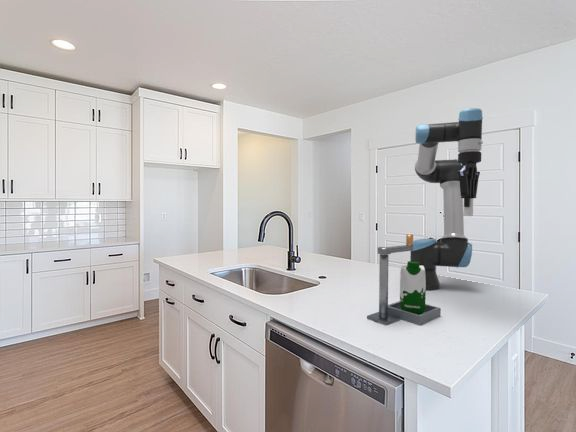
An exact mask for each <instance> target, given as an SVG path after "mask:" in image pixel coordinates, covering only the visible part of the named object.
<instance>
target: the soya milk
mask: <svg viewBox="0 0 576 432" xmlns="http://www.w3.org/2000/svg"><path fill="white" fill-rule="evenodd" d="M399 274H400V275H399V276H400V278H399V301H400V305H401V310H404V311H407V312H410V313H414V314H417V315H420V314H423V313H424V310H425V304H426V293H427V292H426V291H427V290H426V278H425V277H426V273H425V268H424V266H420V265H419V262H416V261H407V263H406V264H401V267H400V273H399Z"/></svg>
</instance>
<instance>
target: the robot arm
mask: <svg viewBox="0 0 576 432" xmlns="http://www.w3.org/2000/svg"><path fill="white" fill-rule="evenodd" d="M483 118H484V117H483V110H482V109H481V108H478V107H471V108H466V109H462V110H461V111H459V115H458V120H457V121H455V122H442V123H441V122H440V123H425V124H420V125H417V126H416V127H415V140H414V141H415V143H416V144H418V145H419V147H418V154H417V155H418V157H417V160H416V162H415V163H414V171H415V174H416V175H417V176H418V178H420V179H421V180H422V181H424V182H426V183H431V184H439V187H440V188H441V189H442V190H443V191H442V192H443V196H442V197H443V236H442V237H440V241H437V239H436V238H420V239H415V240H414V239H413V251H410V255H409V256H410V261H416V262H419V265H420V266H424V268H425V273H426V277H425V278H426V291H435V290H439V289H440V280H439V278H438V275H437V267H450V268H451V267H452V268H467V267H468V266H469V265H470V263H471V260H472V255H473V244H472V243H470V242H469V239H468V237H466V236H465V230H464V229H465V227H464V226H465V225H464V224H465V223H464V222H465V220H464V217H473V216H474V199H477V193H478V187H479V185H478V184H479V177H480V173H481V171H478V167H477V164H478V163H481V162H482V144H484V142H483V141H482V137H483V135H482V134H483ZM451 142H452V143H453V142H458V144H457V152H458V153H457V158H454V159H437V160H436V157H437V151H438V147H439V143H451Z"/></svg>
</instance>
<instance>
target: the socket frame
mask: <svg viewBox="0 0 576 432" xmlns="http://www.w3.org/2000/svg"><path fill="white" fill-rule="evenodd" d="M441 309H442V308H440V307H438V306H435V305H431V304H427V303H425V310H424V313H423V314H420V315H417V314H414V313H410V312H407V311H404V310H401V305H400V300H398V301H396V302H392V303H390V304H389V303H388V314H391V315H395V316H398V317H400V320H402V321H406V322H409V323H412V324H414V325H418V326H422V325H424V324H426V323H428V322H430V321H433V320H435V319H437V318H439V317H441V315H442V314H441Z"/></svg>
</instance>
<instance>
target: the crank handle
mask: <svg viewBox="0 0 576 432" xmlns="http://www.w3.org/2000/svg"><path fill="white" fill-rule="evenodd" d="M405 236H406V237H405V238H406V239H405V240H406V241H405V243H406V244H402V245H395V246H378V247H377V254H378V255H380V254H387V255H392V254H394V253H395V254H396V253H403V252H411V251H413V241H414V234H413V233H412V234H406V235H405Z"/></svg>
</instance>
